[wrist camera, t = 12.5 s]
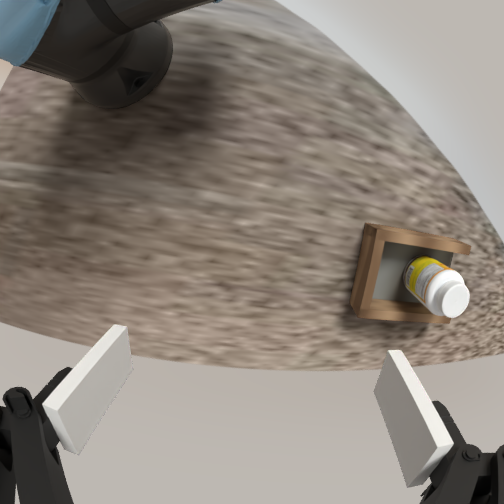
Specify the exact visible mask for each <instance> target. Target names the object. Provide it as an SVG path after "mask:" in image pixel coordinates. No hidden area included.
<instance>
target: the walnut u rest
mask: <svg viewBox="0 0 504 504" xmlns="http://www.w3.org/2000/svg"><path fill="white" fill-rule="evenodd" d="M470 249H471V246H470V245H467V244H465V243H463V242H460V241H458V240H456V239H453V238H448V237H443V236H438V235H433V234H428V233H422V232H417V231H411V230H406V229H400V228H394V227H389V226H383V225H377V224H371V223H365V228H364V234H363V240H362V245H361V251H360V256H359V261H358V266H357V271H356V275H355V280H354V285H353V289H352V294H351V298H350V304H351V306H352V308H353V310H354V312H355V313H356V315H357V317H358V318H367V319H380V320H394V321H409V322H427V323H448V324H449V323H450V320H451V318H449V317H446V316H438V315H435V314H433V313H432V312H430V311H429V310H428V309H427V308H426V307H425V306H424V305H423V304H422V303H421V302H420V301H419V300H418V299H417V298H416V297H415V296H414V295H413V294H412V293H410V292H409V291H408V289H407V288H406V286H405V284H404V278H403V277H404V271H405V268H406V266H407V265H408V263H409V262H410V261H411V260H412V259H413V258H415V257H417V256H420V255H427V256H430V257H432V258H434V259H435V260H437V261H439V262H441V263H442V264H444V265H446V266H447V267H449V268H450V265H451V261H452V257H453V253H454V252H455V253H460V254H466V255H469V253H470Z"/></svg>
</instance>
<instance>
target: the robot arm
mask: <svg viewBox="0 0 504 504" xmlns="http://www.w3.org/2000/svg"><path fill="white" fill-rule="evenodd" d="M221 1H222V0H0V59H3V60H5V61H8V62H10V63H11V64H12V65H13V66H19V67H23V68H26V69H30V70H33V71H37V72H40V73H43V74H46V75H50V76H53V77H56V78H59V79H62V80H65V81H68V82H69V83H70V84H71V85H72V86H73V87H74V88H75V90H76V91H77V92H78V93H79V95H80V96H81V97H82V98H83V99H84V100H85V101H87V102H89V103H90V104H93V105H96V106H99V107H102V108H107V109H115V108H121V107H125V106H128V105H130V104H133V103H135V102H136V101H138V100H140V99H141V98H143V97H144V96H146V95H147V94H148V93H149V92H150V91H151V90H152V89H153V88H154V87H155V86H156V85H157V84H158V83H159V82H160V80H161V79H162V77H163V76H164V74H165V72H166V71H167V69H168V66H169V64H170V61H171V57H172V51H173V44H172V38H171V35H170V33H169V31H168V29H167V28H166V27H165V25H164V24H163V23H162V22H161V21H160V20H159V19H162V18H165V17H168V16H170V15H173V14H176V13H179V12H182V11H185V10H188V9H191V8H194V7H198V6H201V5H204V4H208V3H211V2H213V3H218V2H221ZM132 371H133V363H132V357H131V351H130V344H129V337H128V329H127V327H126V326H121V325H116V324H114V325H113V326H112V327H111V328H110V329H109V330H108V331H107V333H106V334H105V335H104V336H103V337H102V338H101V339H100V340H99V341H98V342H97V343H96V344H95V345H94V346H93V347H92V349H91V350H90V351H89V352H88V353H87V354H86V355H85V356H84V357H83V358H82V359H81V361H80V362H79V363H78V364H77V365H76V366H75V367H74V368H70V367H67V368H65V369H63V370H61V371H59V372H58V373H57V374H56V375H55V376H54V377H53V379H52V380H51V381H50V382H49V383H48V385H46V386H45V387H44V388H43V389H42V391H40V393H39V394H38V395H37V396H36V397H35V398H34V399H32V397H31V394H30V392H29V391H28V390H27V389H26V388H23V387H14V388H11V389H9V390H8V391H6V393H5V394H4V395H3V401H4V403H5V405H6V407H3V406H0V504H15V489H16V484H17V490H18V495H19V500H20V504H74V503H73V500H72V497H71V495H70V491H69V488H68V485H67V482H66V478H65V475H64V471H63V467H62V464H61V460H60V456H59V452H58V449H57V447H56V446H57V444H58V443H59V441H60V442H61V444H62V446H63V448H64V449H65V450H67V451H70V452H72V453H74V454H77V455H79V454H80V453H81V451H82V449H83V448H84V446H85V444H86V443H87V441H88V440H89V438H90V436H91V434H92V433H93V432H94V430H95V428H96V427H97V425H98V424H99V422H100V420H101V419H102V417H103V416H104V414H105V412H106V411H107V409H108V408H109V406H110V405H111V403H112V402H113V400H114V398H115V397H116V395H117V394H118V392H119V391H120V389H121V388H122V386H123V385H124V383H125V381H126V380H127V378H128V377H129V375H130V374H131V372H132ZM374 394H375V396H376V399H377V402H378V404H379V407H380V410H381V412H382V415H383V418H384V421H385V423H386V426H387V429H388V432H389V435H390V437H391V440H392V443H393V446H394V449H395V452H396V455H397V458H398V461H399V464H400V467H401V470H402V472H403V476H404V479H405V482H406V486H407V488H408V487H413V486H418V485H422V484H423V483H424V482H425V481H426V480H427V478H428V477H430V479H431V482H432V483H431V484H430V485H429V486H428V487H427V489H426V490H425V491H424V492H423V493H422V495H421V496H423V495H424V496H423V499H422V500H421V502H420V504H504V445H502V446H500V447H499V449H498V450H497V451H496V453H482V452H481V450H480V449H479V448H478V447H476V446H474V445H470V444H466V442H465V440H464V438H463V437H462V435H461V433H460V431H459V429H458V428H457V426H456V424H455V423H454V420H453V419H452V417H451V416H450V414H449V412H448V410H447V408H446V407H445V406H444V405H443V404H441V403H440V402H439V401H431V400H430V398H429V397H428V395H427V393H426V391H425V389H424V388H423V386H422V384H421V382H420V381H419V379H418V377H417V376H416V374H415V372H414V371H413V369H412V367H411V366H410V364H409V362H408V361H407V359H406V357H405V356H404V354H403V352H402V351H401V350H388V352H387V355H386V358H385V361H384V364H383V367H382V370H381V373H380V375H379V378H378V381H377V384H376V386H375V389H374Z"/></svg>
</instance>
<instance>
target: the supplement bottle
mask: <svg viewBox="0 0 504 504" xmlns="http://www.w3.org/2000/svg"><path fill="white" fill-rule="evenodd" d="M403 278H404V284H405V286H406V288H407V289H408V291H409V292H410V293H412V294H413V295H414V296H415V297H416V298H417V299H418V300H419V301H420V302H421V303H422V304H423V305H424V306H425V307H426V308H427V309H428V310H429V311H430V312H432V313H433V314H435V315H438V316H446V317H449V318H454V317H457V316H459V315H460V314H461V313H462V312H463V311H464V310H465V309H466V307H467V305H468V302H469V297H470V295H469V290H468V288H467V287H466V286H465V284H464V281H463V278H462V277H461V275H460V274H459V273H457V272H456V271H454V270H453V269H451V268H449V267H447V266H446V265H444V264H442V263H441V262H439V261H437V260H435V259H434V258H432V257H430V256H427V255H420V256H417V257H415V258H413V259H412V260H411V261H410V262H409V263H408V265H407V266H406V268H405V271H404V277H403Z"/></svg>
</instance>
